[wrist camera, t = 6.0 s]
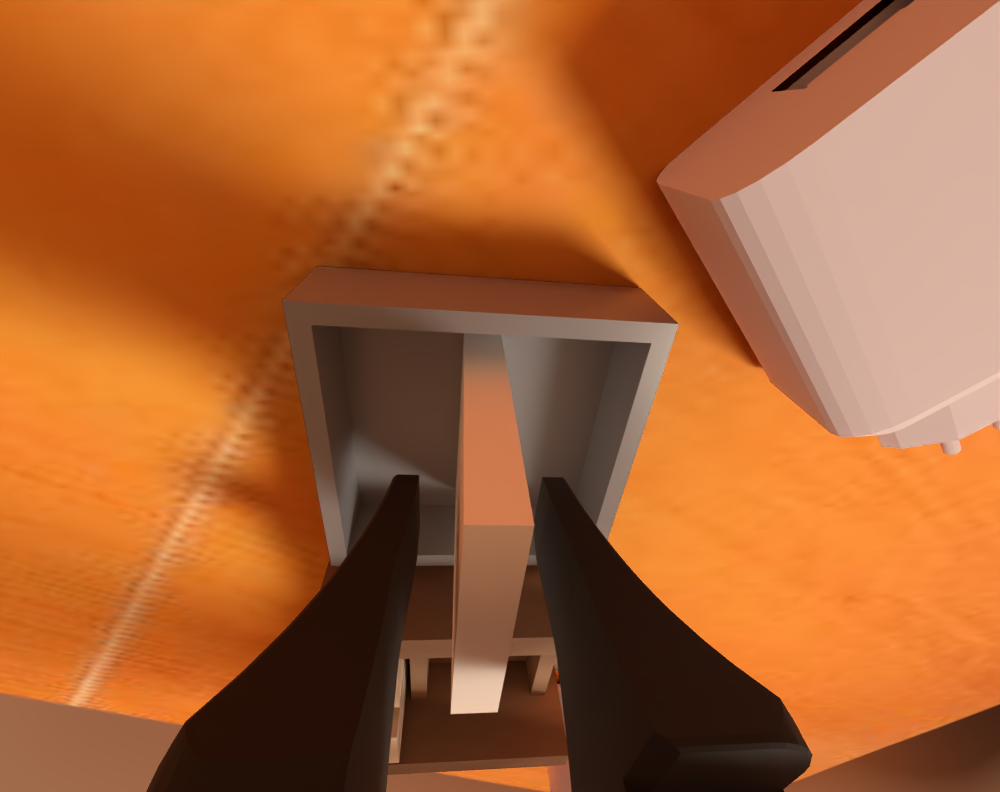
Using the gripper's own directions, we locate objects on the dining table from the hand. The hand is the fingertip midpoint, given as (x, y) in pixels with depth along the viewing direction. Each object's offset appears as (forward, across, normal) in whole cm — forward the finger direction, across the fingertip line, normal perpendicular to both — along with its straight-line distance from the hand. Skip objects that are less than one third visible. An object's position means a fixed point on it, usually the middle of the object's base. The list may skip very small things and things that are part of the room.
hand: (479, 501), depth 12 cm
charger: (+5, -13, -6) cm, 15 cm away
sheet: (+4, 0, 0) cm, 4 cm away
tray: (+5, 0, 0) cm, 5 cm away
